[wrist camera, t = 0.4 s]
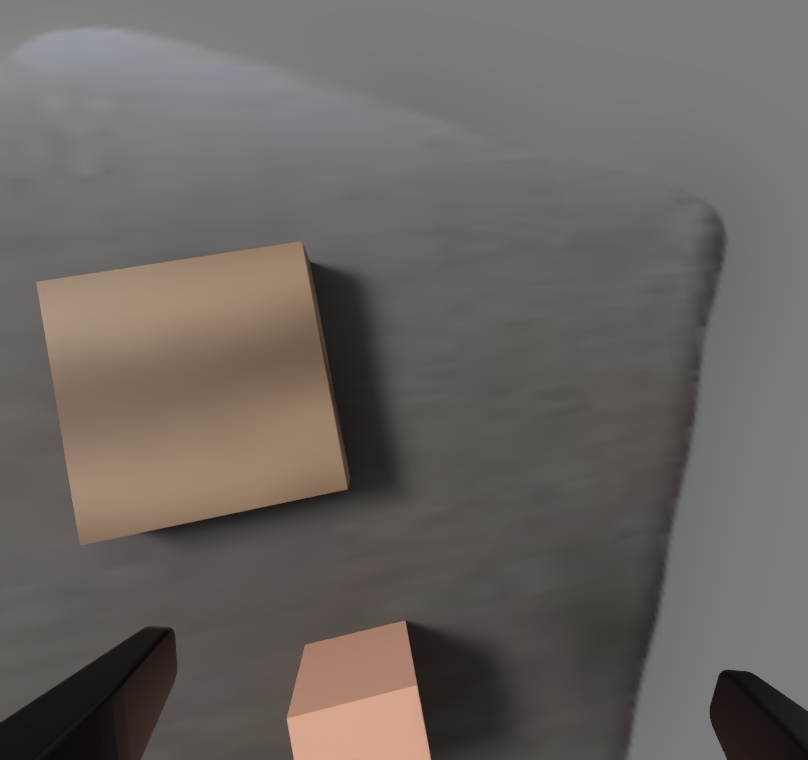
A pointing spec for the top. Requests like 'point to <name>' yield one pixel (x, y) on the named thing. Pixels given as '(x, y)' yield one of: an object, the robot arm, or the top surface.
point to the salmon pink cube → (358, 699)
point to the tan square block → (192, 389)
